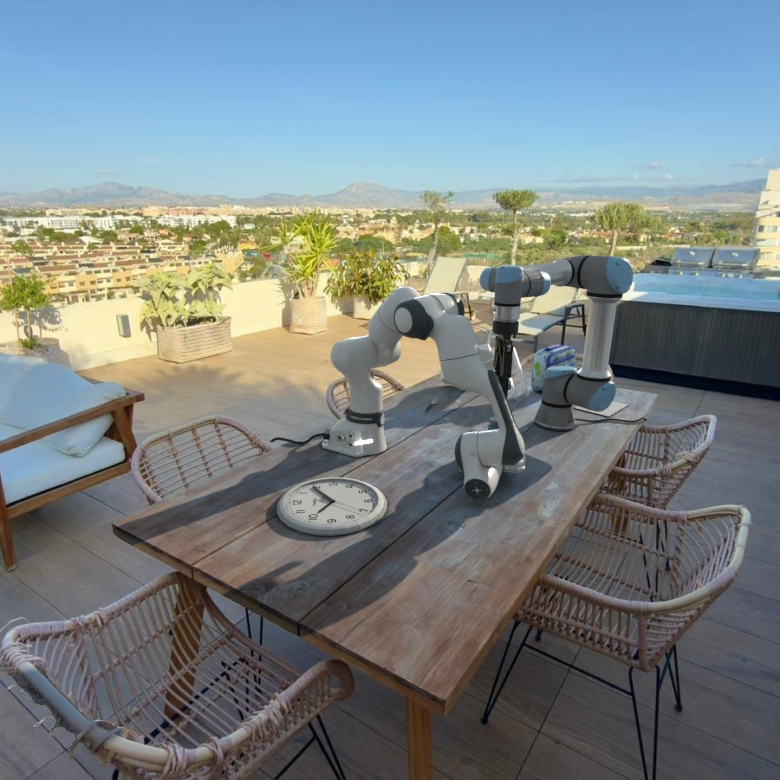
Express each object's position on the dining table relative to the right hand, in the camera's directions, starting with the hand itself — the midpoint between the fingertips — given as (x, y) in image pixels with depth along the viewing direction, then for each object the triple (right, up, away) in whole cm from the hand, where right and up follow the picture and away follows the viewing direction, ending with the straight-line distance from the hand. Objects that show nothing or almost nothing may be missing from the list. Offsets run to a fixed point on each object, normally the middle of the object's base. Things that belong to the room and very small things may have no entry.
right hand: (500, 394), depth 159 cm
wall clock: (-49, -30, -17) cm, 60 cm away
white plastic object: (+8, 0, +84) cm, 84 cm away
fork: (-16, -6, +63) cm, 66 cm away
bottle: (-1, -23, +7) cm, 25 cm away
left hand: (0, -17, +6) cm, 18 cm away
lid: (0, +4, -1) cm, 4 cm away
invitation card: (+58, -6, +67) cm, 89 cm away
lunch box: (+44, +2, +90) cm, 100 cm away
